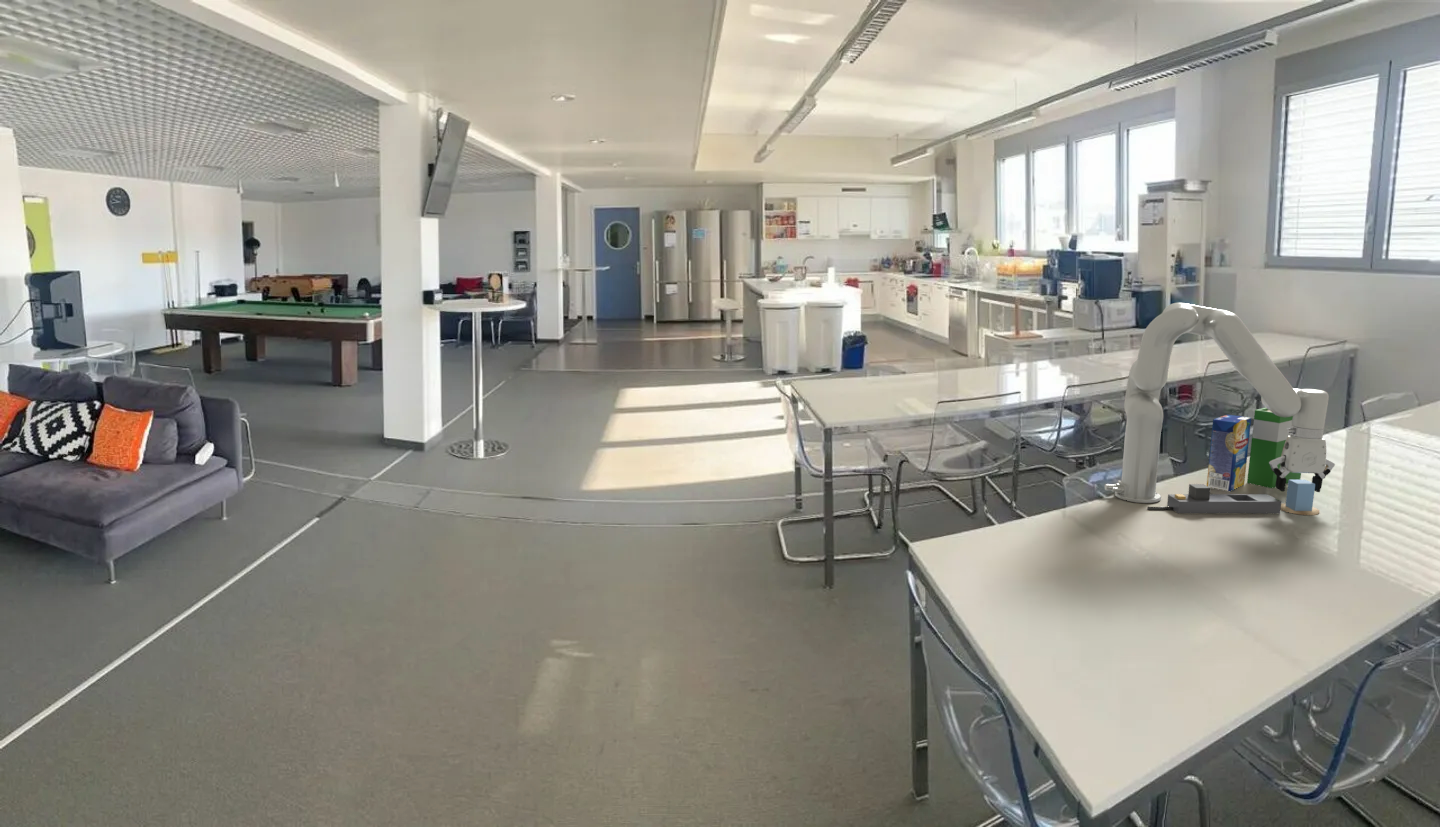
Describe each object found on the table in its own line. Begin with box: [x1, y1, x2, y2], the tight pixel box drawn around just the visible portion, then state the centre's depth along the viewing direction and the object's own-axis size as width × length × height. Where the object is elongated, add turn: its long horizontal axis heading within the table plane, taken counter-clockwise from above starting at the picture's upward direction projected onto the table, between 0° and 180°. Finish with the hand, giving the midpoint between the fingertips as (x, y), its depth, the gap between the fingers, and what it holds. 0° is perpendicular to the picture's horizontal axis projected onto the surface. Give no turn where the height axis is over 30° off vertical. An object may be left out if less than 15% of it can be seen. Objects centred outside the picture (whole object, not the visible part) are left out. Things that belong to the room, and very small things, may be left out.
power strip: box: [1146, 483, 1282, 515], centre depth 238 cm, size 35×7×7 cm, turn 86°
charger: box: [1285, 479, 1316, 511], centre depth 236 cm, size 5×5×8 cm
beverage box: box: [1206, 414, 1252, 492], centre depth 259 cm, size 7×11×22 cm, turn 128°
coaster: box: [1280, 502, 1321, 516], centre depth 237 cm, size 10×10×1 cm
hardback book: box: [1246, 407, 1302, 489], centre depth 263 cm, size 18×7×24 cm, turn 120°
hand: (1297, 490), depth 236 cm, fingers open, 9 cm apart
